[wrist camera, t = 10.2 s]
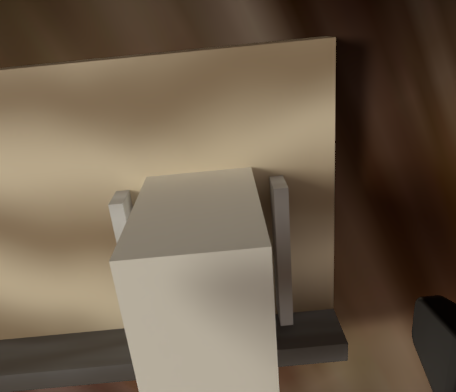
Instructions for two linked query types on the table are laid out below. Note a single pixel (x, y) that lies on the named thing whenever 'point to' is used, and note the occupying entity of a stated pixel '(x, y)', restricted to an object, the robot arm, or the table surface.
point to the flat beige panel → (133, 181)
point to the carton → (198, 285)
